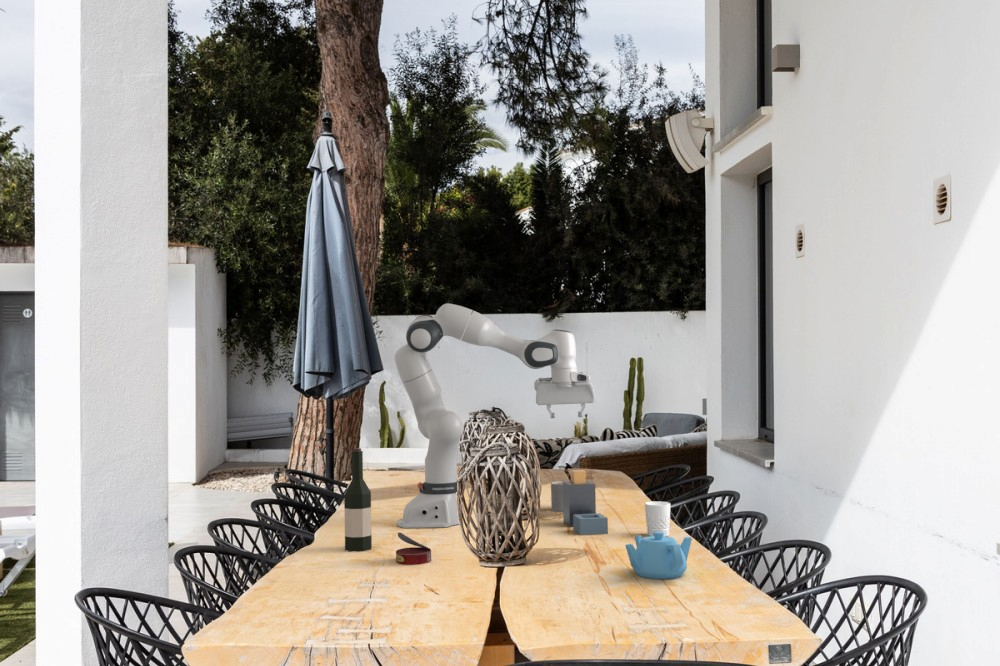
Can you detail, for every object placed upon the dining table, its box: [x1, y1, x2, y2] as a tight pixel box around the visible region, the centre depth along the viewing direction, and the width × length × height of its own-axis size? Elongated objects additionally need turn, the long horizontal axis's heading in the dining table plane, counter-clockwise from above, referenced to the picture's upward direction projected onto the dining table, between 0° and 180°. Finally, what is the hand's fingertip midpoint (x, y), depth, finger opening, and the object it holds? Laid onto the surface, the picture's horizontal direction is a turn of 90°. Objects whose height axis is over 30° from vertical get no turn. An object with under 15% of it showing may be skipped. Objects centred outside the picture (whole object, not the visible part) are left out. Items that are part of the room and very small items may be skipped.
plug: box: [570, 469, 587, 484], centre depth 312 cm, size 4×4×7 cm
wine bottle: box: [343, 447, 373, 552], centre depth 278 cm, size 8×8×30 cm
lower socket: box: [572, 512, 609, 536], centre depth 298 cm, size 9×9×5 cm
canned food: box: [395, 532, 432, 566], centre depth 260 cm, size 11×10×10 cm
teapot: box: [625, 532, 693, 580], centre depth 239 cm, size 15×15×11 cm
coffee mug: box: [550, 480, 564, 513], centre depth 342 cm, size 13×10×10 cm
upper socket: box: [562, 479, 597, 528], centre depth 312 cm, size 9×9×14 cm
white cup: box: [644, 500, 671, 537], centre depth 290 cm, size 8×8×10 cm
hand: (566, 417), depth 315 cm, fingers open, 8 cm apart
